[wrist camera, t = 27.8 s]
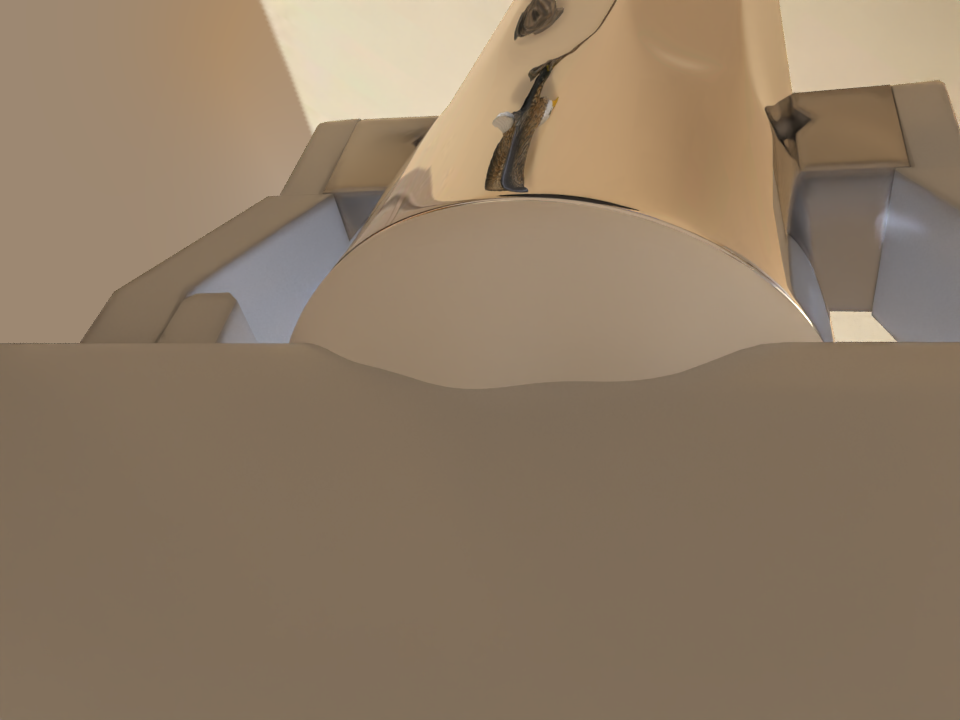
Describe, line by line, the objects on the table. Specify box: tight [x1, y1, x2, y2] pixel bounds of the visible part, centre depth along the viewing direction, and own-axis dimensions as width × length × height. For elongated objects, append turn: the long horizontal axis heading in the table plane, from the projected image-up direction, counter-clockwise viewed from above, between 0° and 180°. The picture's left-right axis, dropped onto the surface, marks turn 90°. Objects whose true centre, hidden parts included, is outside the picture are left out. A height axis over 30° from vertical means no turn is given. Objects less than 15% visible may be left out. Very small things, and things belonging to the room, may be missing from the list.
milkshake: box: [289, 0, 835, 389], centre depth 10 cm, size 4×5×10 cm
